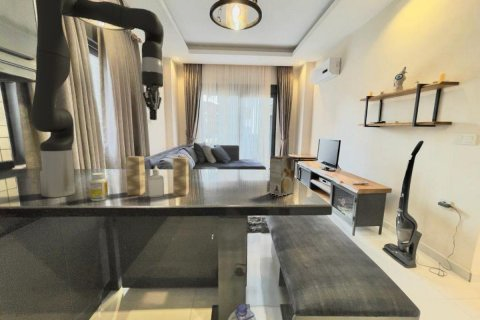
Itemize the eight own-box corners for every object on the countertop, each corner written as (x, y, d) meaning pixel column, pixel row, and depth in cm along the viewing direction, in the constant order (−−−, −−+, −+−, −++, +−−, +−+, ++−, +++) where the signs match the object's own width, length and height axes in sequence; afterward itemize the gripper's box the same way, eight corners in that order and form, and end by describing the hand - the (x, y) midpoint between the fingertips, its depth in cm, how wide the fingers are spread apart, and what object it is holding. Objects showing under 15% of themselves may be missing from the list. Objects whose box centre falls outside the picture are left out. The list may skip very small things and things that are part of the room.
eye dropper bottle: (160, 198, 84) (159, 167, 83) (146, 197, 85) (145, 166, 83) (165, 194, 88) (165, 165, 87) (152, 193, 89) (152, 164, 88)
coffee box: (282, 190, 100) (283, 155, 98) (293, 193, 95) (296, 156, 93) (268, 193, 94) (270, 156, 92) (280, 197, 89) (282, 158, 87)
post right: (173, 195, 87) (172, 158, 86) (176, 192, 92) (176, 156, 90) (186, 195, 88) (185, 158, 86) (188, 192, 93) (188, 157, 91)
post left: (127, 195, 87) (125, 157, 85) (133, 191, 92) (131, 156, 90) (140, 195, 87) (139, 157, 85) (145, 191, 92) (144, 156, 90)
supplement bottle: (96, 202, 78) (94, 175, 76) (88, 199, 80) (86, 173, 79) (111, 198, 82) (110, 173, 81) (103, 196, 85) (101, 171, 84)
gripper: (149, 76, 88) (150, 120, 91) (134, 67, 75) (135, 118, 78) (167, 77, 89) (168, 121, 91) (156, 68, 75) (157, 119, 78)
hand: (153, 119), depth 84 cm, fingers closed
